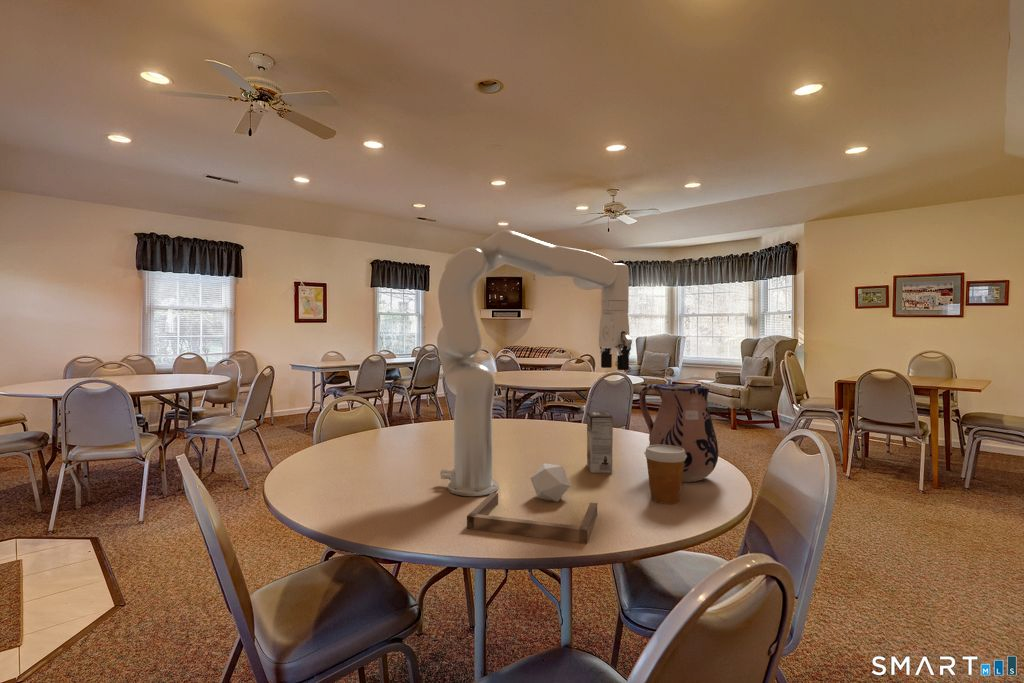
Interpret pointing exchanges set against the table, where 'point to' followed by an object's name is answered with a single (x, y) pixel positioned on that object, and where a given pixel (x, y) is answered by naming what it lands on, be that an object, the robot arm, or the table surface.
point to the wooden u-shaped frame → (530, 523)
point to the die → (550, 482)
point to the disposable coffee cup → (665, 472)
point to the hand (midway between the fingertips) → (614, 368)
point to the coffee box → (599, 441)
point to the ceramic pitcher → (684, 426)
